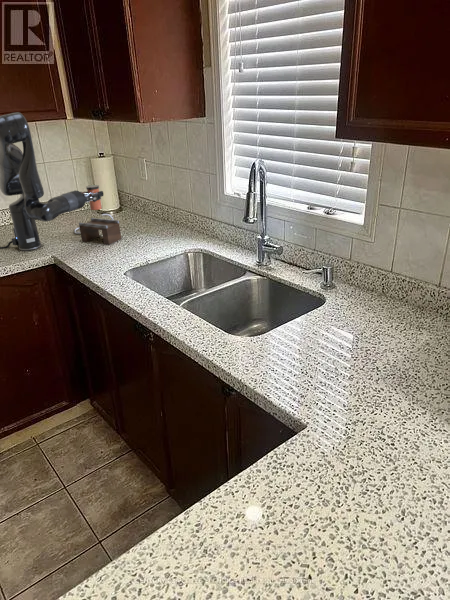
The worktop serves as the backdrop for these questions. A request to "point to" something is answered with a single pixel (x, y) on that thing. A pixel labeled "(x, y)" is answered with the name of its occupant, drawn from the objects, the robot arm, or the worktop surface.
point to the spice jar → (96, 204)
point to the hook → (79, 228)
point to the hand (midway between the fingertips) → (97, 192)
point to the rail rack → (107, 226)
